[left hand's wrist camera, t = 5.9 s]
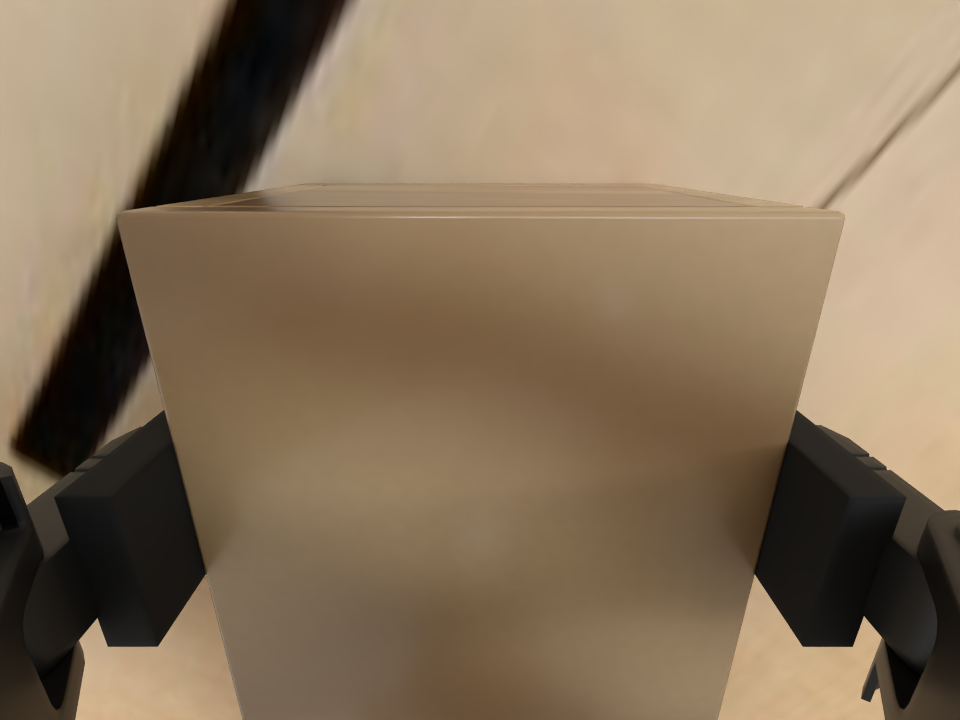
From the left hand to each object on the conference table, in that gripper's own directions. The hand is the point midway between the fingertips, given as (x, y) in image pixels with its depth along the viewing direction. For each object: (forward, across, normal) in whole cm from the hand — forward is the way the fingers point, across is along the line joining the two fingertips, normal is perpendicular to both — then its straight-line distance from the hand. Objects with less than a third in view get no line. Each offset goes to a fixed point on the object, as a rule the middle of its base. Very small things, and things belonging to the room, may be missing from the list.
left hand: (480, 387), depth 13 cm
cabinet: (+3, 0, -6) cm, 6 cm away
